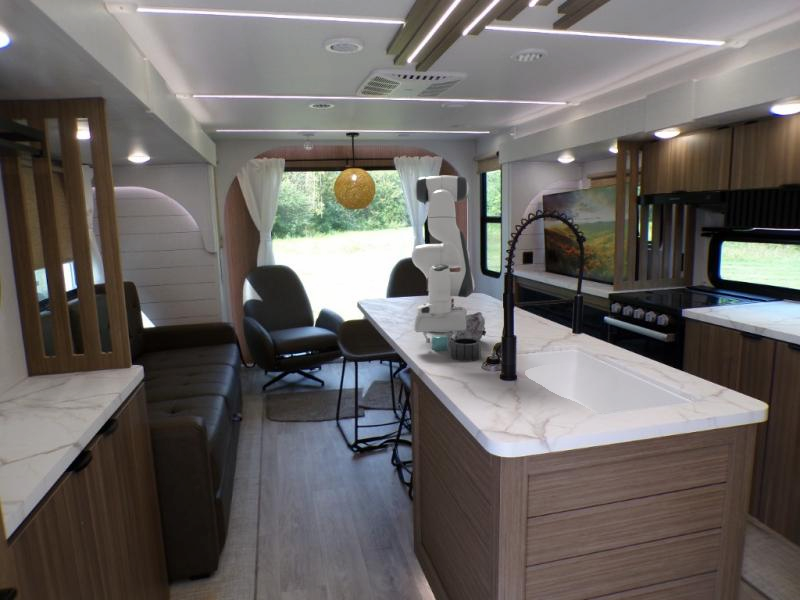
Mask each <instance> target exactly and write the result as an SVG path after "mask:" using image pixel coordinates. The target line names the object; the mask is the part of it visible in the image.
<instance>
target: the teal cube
mask: <svg viewBox="0 0 800 600" xmlns="http://www.w3.org/2000/svg"><path fill="white" fill-rule="evenodd" d="M431 350H432V351H434V352H445V351H447V350H448V336H447V335H443V334H441V335H440V334H436V335H432V337H431Z"/></svg>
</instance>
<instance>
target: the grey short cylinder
mask: <svg viewBox="0 0 800 600" xmlns="http://www.w3.org/2000/svg"><path fill="white" fill-rule="evenodd" d="M449 343H450V344H449V345H450V346H449V348H450V349H449V353H450V354H449V355H450V359H452V360H453V361H458V362H474V361H475V362H476V361H479V360H481V358H482V341H481V339H480V340H478V339H474V338H457V339H455V338H454V339H453V340H451V341H450V340H449Z"/></svg>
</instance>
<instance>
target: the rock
mask: <svg viewBox="0 0 800 600" xmlns="http://www.w3.org/2000/svg"><path fill="white" fill-rule="evenodd" d="M465 319H466V329H465V331H457V335H456V337H455V338H454V339H457V338H474V339H478V340H480V341H481V339H482V337H485V336H486V333H487V331H486V327H485V324H486V323H485V322H486V321H485V317H484V316H483V313H482V312H480V311H479V312H475V313H472V314H471V313H469V314H467V316H466V318H465Z"/></svg>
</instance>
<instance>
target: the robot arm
mask: <svg viewBox="0 0 800 600" xmlns="http://www.w3.org/2000/svg"><path fill="white" fill-rule="evenodd" d="M469 188H470V187H469V183H468V180H467V178H466V177H465V176H462V175H457V176H456V175H447V174H446V175H445V174H442V175H431V176H427V177H426V176H421V177H418V178H417V180H416V181H415V185H414V189H413V190H414V196H415V197H416V200H417V201H419V202H420V203H423V205H426V204H427V203H428V205H427V206H428V209H427V227H428V228H427V229H428V232H429V234H430V235H431V236H432V238H434V239H435V240H437V241H439V242H441V243H425V244H420V245H416V246H415V247H414V248H413V250H412V252H411V261H412V263H413V265H414V266H415V267H416V268H418V269H419V270H420V271H421V272H422V273H423V275H424V276H425V278H426V291H427V292H428V298H427V302H425V303H423V304H420V305H418V306H417V307H416V311H417V312H416V314H415V315H414V319H413V320H414V321H413V330H414V332H416V333H422V334H423V336H424V338H425V344H430V343H431V338H430V337H428V336H427V335H428V332H430V333H431V332H433V333H450V332H452V333H453V334H452V337H451V336H450V337H449V342H450V341H451V340H453V339H455V337H456V335H457V331H465V329H466V319H465V318H466V316H467V315H468V314H467V309H466V308H464V307H463V306H455V298H454V297H459V298H467V297H469V296H470V295H471V294H472V293H474V290H475V280H474V275H473V274H472V269H471V265H470V263H471V262H470V257H471V256H470V255H471V254H470V251H469V248H468V246H467V241H466V236H465V233H464V231H462V230H460V228H459V227H458V225H457V221H456V220H457V219H456V218H457V217H456V216H457V214H456V203H461V202H463V201H465V200H466V199H467V197H468V194H469ZM457 268H460V270H459V271H451V270H450V269H457Z"/></svg>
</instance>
